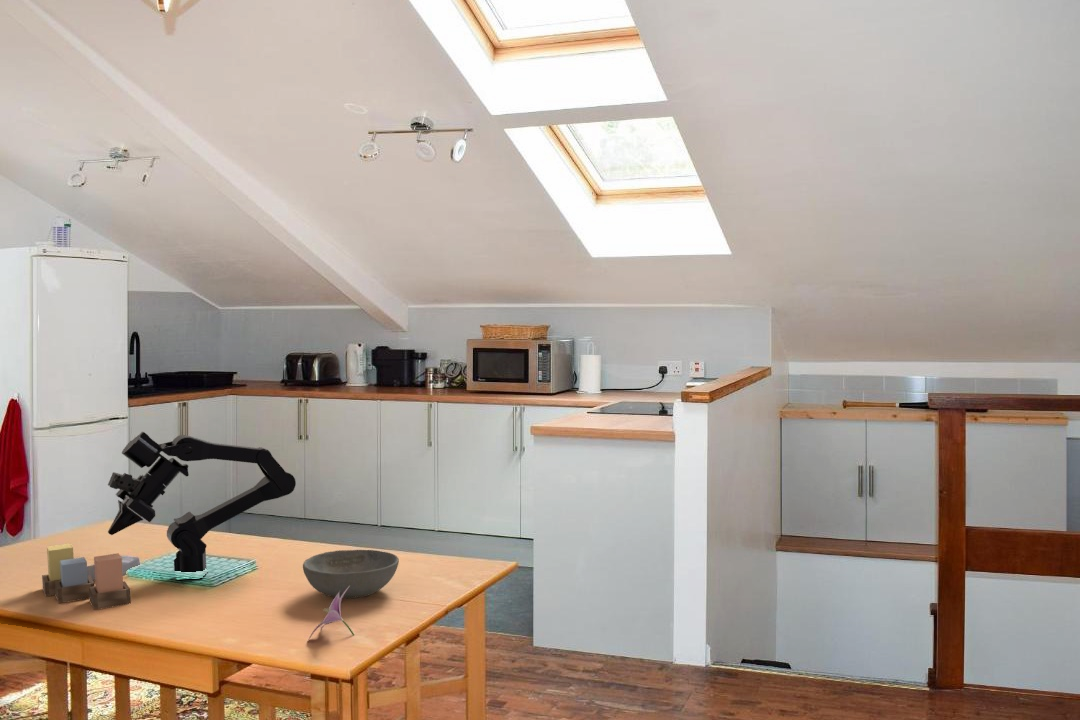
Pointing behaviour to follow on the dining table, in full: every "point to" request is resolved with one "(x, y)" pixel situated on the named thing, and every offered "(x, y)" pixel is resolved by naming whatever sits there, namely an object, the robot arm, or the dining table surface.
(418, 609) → the dining table surface
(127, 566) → the stone block
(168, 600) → the dining table surface
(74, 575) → the blue-grey block
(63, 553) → the ochre block
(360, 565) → the bowl
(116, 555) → the tan block
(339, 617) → the lily
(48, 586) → the walnut sockets
